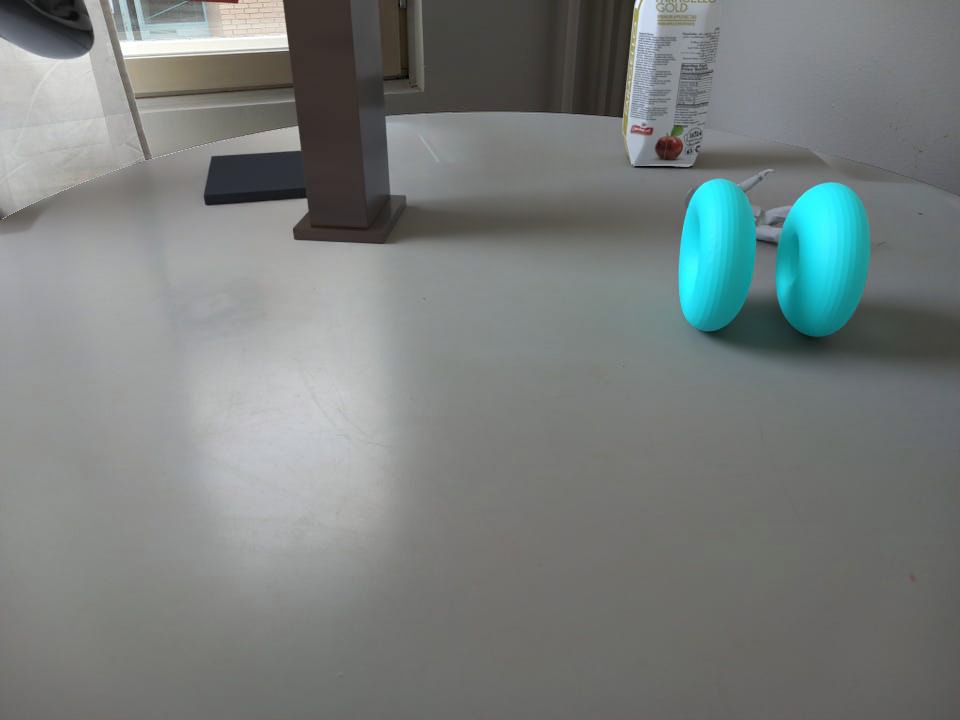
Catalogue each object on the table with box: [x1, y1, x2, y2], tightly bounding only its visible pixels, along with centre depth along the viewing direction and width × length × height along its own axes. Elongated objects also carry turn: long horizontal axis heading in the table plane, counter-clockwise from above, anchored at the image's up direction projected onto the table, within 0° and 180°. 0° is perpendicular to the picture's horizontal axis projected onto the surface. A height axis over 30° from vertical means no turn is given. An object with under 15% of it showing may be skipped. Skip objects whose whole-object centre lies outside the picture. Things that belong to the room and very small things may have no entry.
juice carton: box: [621, 0, 724, 165], centre depth 81 cm, size 8×9×19 cm
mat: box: [203, 150, 307, 206], centre depth 79 cm, size 14×10×1 cm
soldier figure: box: [684, 168, 793, 244], centre depth 64 cm, size 8×5×12 cm
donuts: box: [678, 178, 871, 338], centre depth 49 cm, size 10×10×10 cm
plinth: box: [282, 0, 407, 244], centre depth 61 cm, size 10×8×31 cm
